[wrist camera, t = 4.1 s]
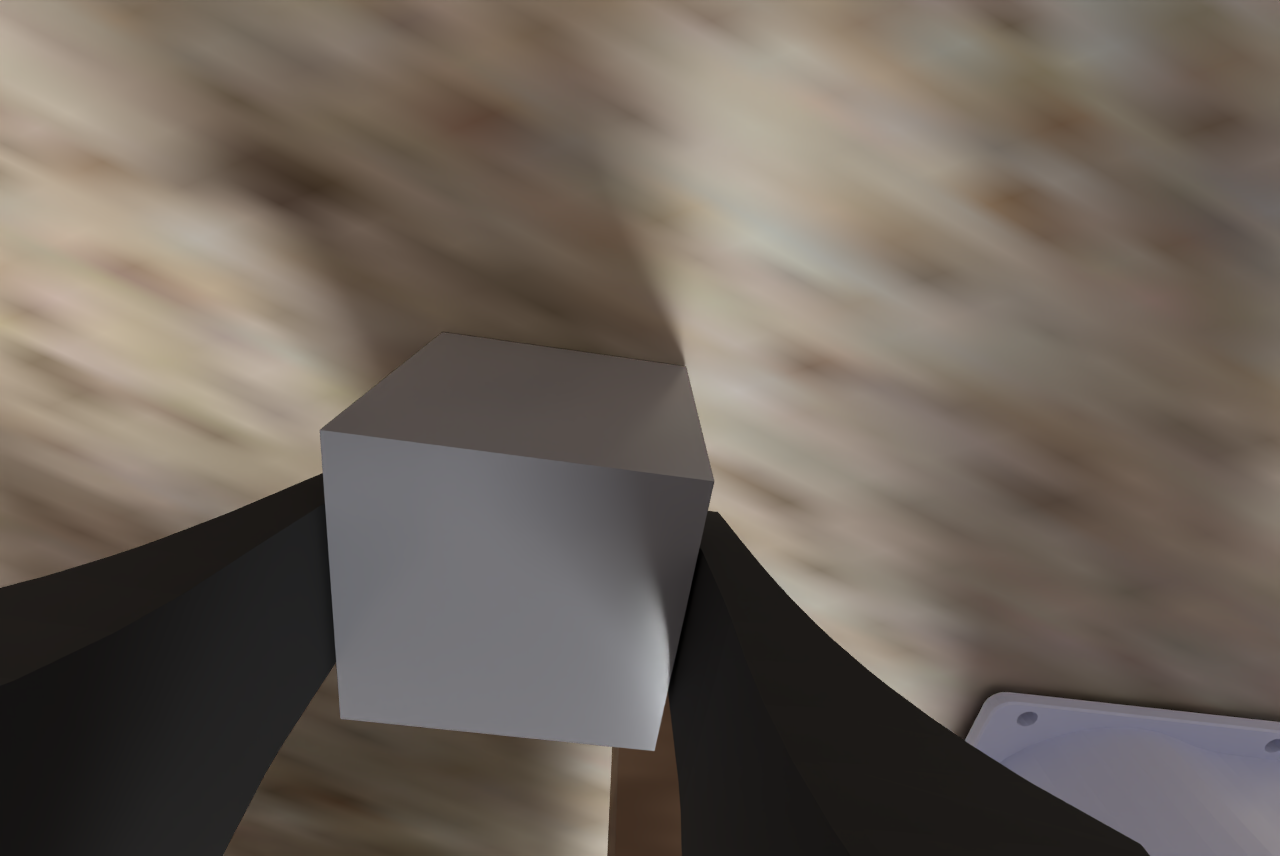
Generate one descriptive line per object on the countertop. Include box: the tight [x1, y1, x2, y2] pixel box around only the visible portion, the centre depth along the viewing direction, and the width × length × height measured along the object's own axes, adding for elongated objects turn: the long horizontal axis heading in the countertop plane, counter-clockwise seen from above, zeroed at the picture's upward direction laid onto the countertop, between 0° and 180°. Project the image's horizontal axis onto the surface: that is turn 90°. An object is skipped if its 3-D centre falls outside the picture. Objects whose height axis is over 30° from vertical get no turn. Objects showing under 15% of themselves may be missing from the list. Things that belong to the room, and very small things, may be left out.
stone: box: [320, 332, 714, 751], centre depth 11 cm, size 5×5×5 cm
